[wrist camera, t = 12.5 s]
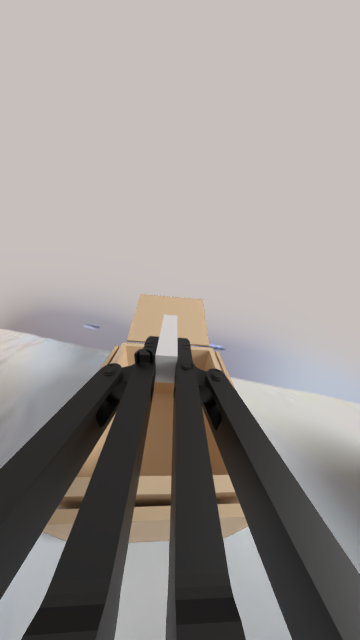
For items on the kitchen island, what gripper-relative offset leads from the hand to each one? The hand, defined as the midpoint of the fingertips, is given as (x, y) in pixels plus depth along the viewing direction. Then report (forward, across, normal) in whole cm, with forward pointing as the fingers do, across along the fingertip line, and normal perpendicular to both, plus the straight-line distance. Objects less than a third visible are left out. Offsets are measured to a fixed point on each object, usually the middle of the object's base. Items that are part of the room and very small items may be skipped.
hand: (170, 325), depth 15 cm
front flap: (+6, 0, -7) cm, 9 cm away
